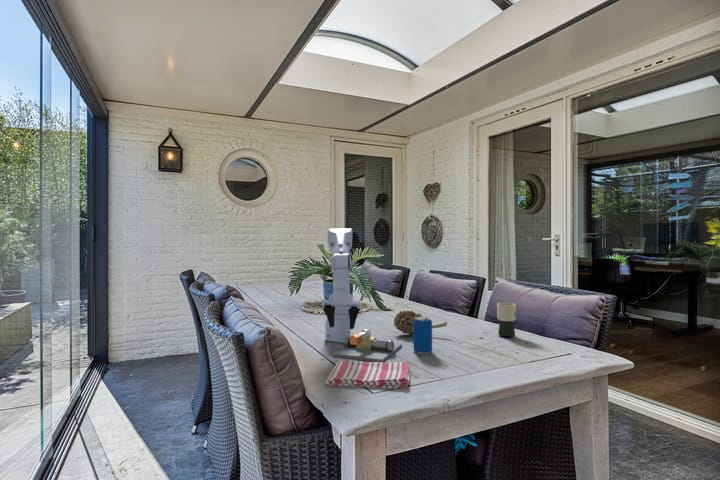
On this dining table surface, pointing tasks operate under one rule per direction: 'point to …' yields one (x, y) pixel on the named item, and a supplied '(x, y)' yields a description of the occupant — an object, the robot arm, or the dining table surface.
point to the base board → (366, 353)
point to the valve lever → (360, 336)
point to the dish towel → (370, 374)
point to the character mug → (506, 318)
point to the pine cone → (409, 322)
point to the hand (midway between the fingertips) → (341, 327)
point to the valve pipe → (371, 344)
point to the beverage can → (422, 335)
